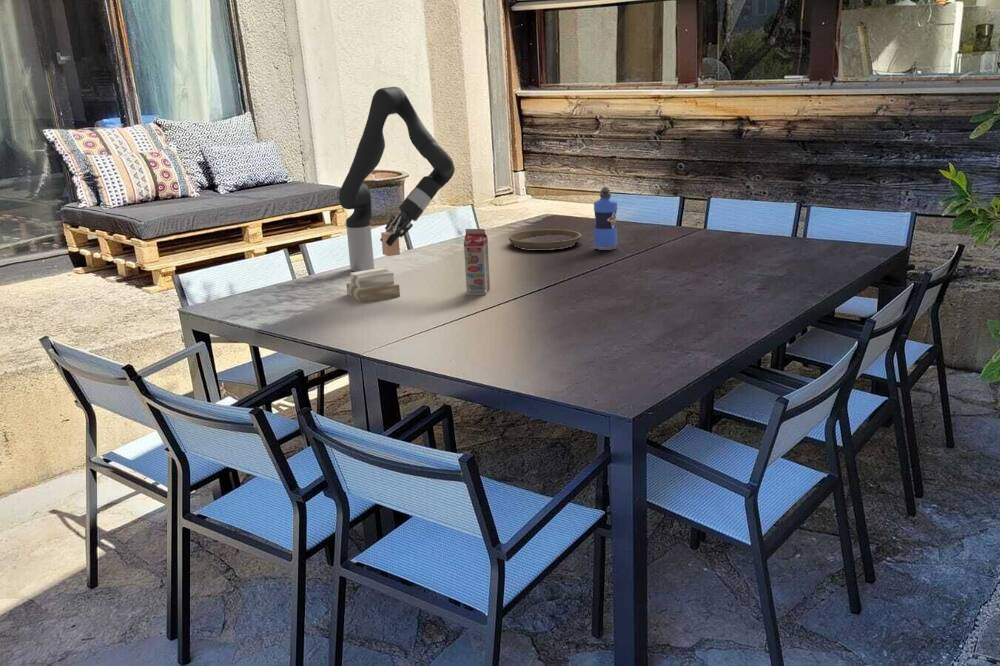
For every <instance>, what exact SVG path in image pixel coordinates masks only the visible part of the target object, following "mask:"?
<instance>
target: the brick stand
mask: <svg viewBox="0 0 1000 666" xmlns="http://www.w3.org/2000/svg"><path fill="white" fill-rule="evenodd" d="M349 277H350V282H347V283H346V282H345V283H346V293H347V294H348V296H349V295H350V296H349V297H351V296H352V297H353V299H354V298H355V299H354V300H356V299H357V300H358V301H357V300H356V301H357V302H359V301H360V302H359V303H361V302H364V303H369V302H368V301H370V302H375V301H374V300H376V301H380V300H386V299H387V300H388V299H392V298H397V297H401V292H400V284H398V283H397V282H395V279H394V278H395V276H394V272H393V271H390V270H388V269H386V268H384V267H379V268H374V269H371V270H364V271H358V272H354V271H350V272H349ZM352 297H351V298H352Z"/></svg>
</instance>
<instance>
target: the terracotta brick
mask: <svg viewBox="0 0 1000 666" xmlns="http://www.w3.org/2000/svg"><path fill="white" fill-rule="evenodd" d="M391 234H393V231H389V232H386V231H383V232H380V236H381V237H380V239H381V238H382V242H381V246H382V247H381V248H382V255H384V256H387V257H392V256H398V255H401V252H400V251H401V249H400V237H399V238H397V239H396V240H395V242H394V243H393V244H392V245H391V246H389V245H388V244H386V241H387V240H388V238H389V237H390V236H391Z"/></svg>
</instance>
